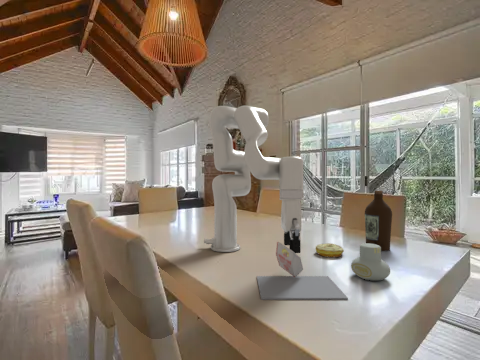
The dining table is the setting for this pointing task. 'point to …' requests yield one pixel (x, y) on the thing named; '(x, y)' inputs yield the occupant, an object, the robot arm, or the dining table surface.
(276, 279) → the mat
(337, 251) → the decorated donut
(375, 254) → the air freshener
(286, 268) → the white paper carton
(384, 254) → the dining table surface
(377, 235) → the olive oil
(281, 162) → the robot arm
